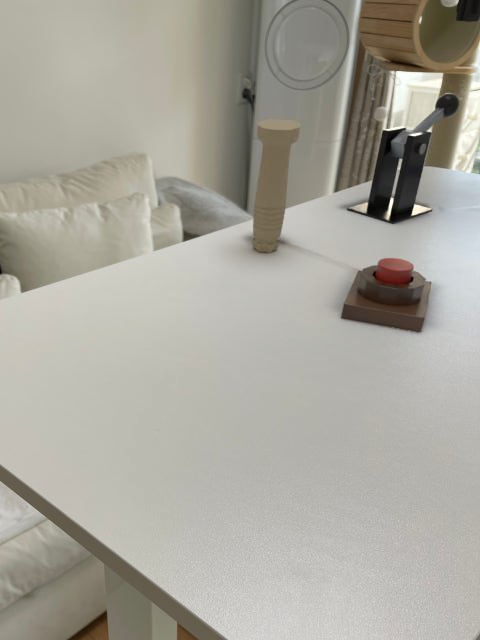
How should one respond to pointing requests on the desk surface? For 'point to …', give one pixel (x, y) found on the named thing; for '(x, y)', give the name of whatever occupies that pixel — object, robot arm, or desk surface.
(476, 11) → the robot arm
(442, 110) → the lever
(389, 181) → the bracket
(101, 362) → the desk surface
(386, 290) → the button block
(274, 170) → the handle
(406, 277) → the button
